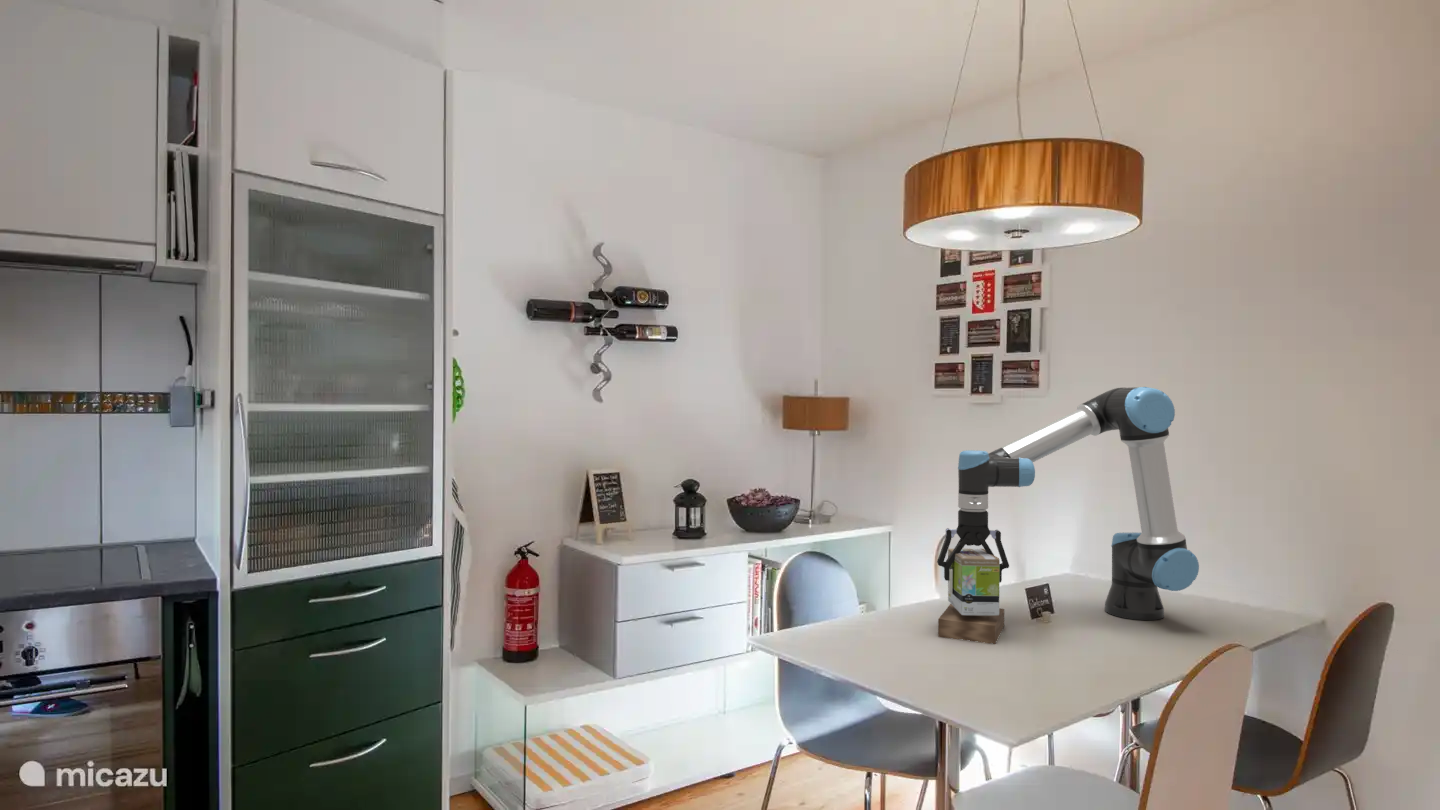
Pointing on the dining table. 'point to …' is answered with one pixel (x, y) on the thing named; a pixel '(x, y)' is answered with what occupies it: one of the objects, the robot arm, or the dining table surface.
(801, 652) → the dining table surface
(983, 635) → the walnut block
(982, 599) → the tea box
